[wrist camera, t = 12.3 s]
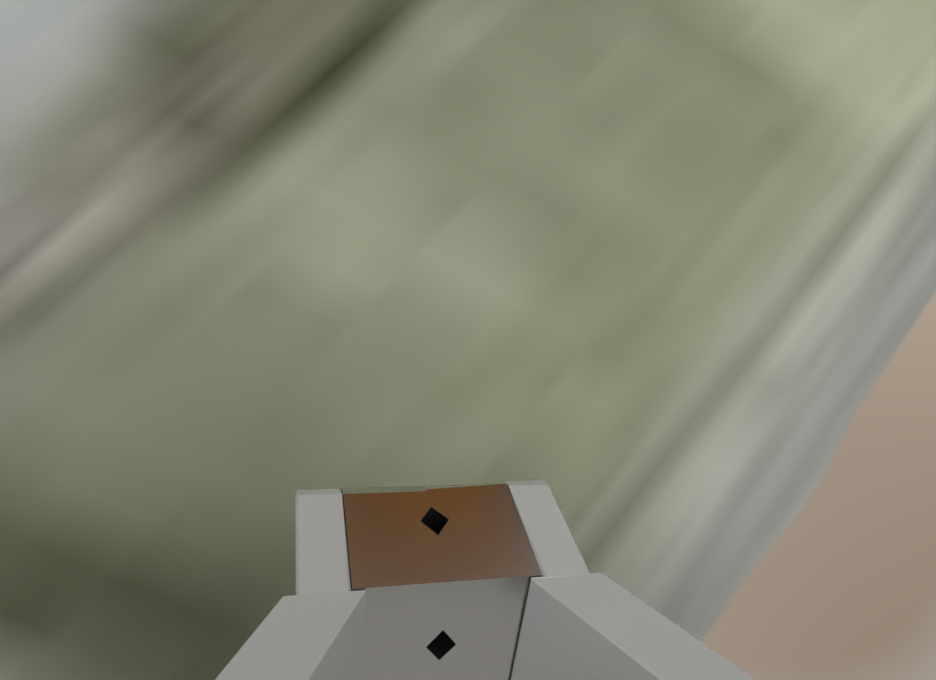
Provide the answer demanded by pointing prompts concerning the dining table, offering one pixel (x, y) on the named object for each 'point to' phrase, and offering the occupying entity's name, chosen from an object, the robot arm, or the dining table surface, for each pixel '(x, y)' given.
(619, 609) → the robot arm
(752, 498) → the dining table surface
